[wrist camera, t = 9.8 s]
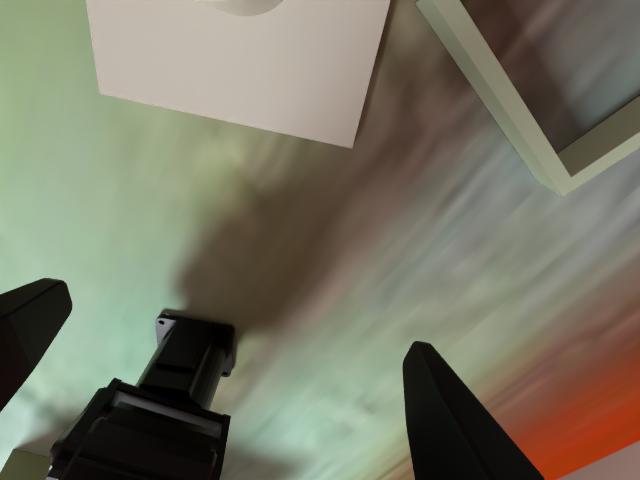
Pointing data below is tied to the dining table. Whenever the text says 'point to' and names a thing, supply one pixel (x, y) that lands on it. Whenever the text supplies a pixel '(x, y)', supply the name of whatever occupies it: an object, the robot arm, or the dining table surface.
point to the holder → (513, 115)
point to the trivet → (243, 61)
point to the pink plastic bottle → (242, 6)
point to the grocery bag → (25, 466)
